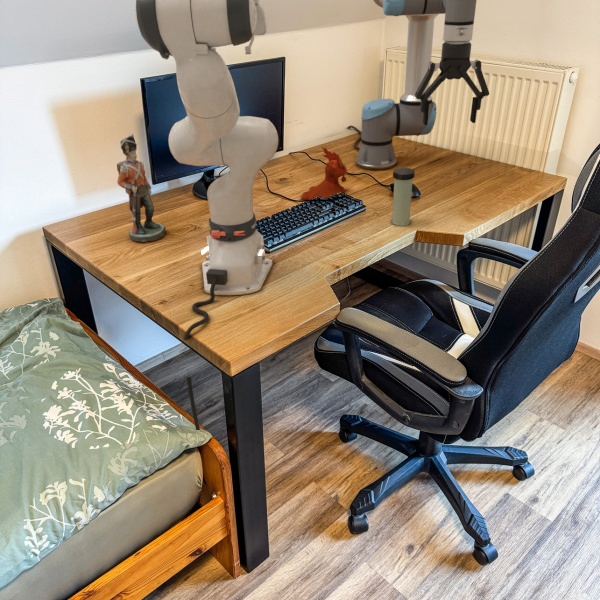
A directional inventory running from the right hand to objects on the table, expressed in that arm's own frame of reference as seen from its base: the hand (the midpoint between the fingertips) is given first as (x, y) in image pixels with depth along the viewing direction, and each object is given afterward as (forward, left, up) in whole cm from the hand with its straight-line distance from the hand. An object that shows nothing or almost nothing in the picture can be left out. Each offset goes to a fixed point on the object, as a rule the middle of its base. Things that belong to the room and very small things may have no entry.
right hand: (448, 122), depth 161 cm
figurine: (+7, -90, -28) cm, 94 cm away
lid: (+6, -13, -12) cm, 19 cm away
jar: (+6, -13, -28) cm, 31 cm away
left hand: (-2, -60, +20) cm, 64 cm away
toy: (-19, -35, -28) cm, 49 cm away
